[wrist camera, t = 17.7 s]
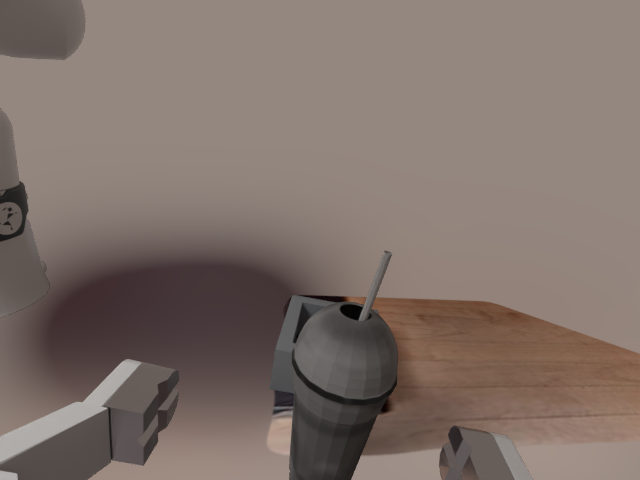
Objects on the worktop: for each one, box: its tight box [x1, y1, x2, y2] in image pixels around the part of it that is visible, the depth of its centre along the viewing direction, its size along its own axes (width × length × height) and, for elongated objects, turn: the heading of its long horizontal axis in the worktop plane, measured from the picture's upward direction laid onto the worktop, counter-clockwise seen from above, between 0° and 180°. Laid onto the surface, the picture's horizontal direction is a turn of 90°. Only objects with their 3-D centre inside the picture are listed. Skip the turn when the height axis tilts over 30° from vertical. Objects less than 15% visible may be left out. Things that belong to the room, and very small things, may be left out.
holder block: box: [270, 295, 378, 394], centre depth 38 cm, size 12×12×5 cm
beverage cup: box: [289, 251, 398, 480], centre depth 22 cm, size 7×7×20 cm
